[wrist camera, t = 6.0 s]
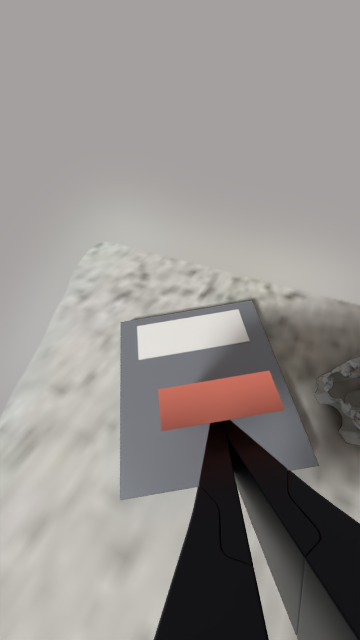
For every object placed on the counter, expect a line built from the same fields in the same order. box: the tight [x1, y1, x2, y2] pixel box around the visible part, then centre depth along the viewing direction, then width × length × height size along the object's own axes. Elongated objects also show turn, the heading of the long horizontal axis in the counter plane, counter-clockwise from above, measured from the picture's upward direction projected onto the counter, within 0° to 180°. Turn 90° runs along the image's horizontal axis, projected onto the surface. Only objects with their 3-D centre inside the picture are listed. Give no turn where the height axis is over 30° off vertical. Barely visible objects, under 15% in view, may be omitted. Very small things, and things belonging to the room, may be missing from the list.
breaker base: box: [120, 300, 319, 500], centre depth 19 cm, size 16×16×2 cm
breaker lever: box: [158, 371, 285, 431], centre depth 12 cm, size 2×6×10 cm, turn 99°
